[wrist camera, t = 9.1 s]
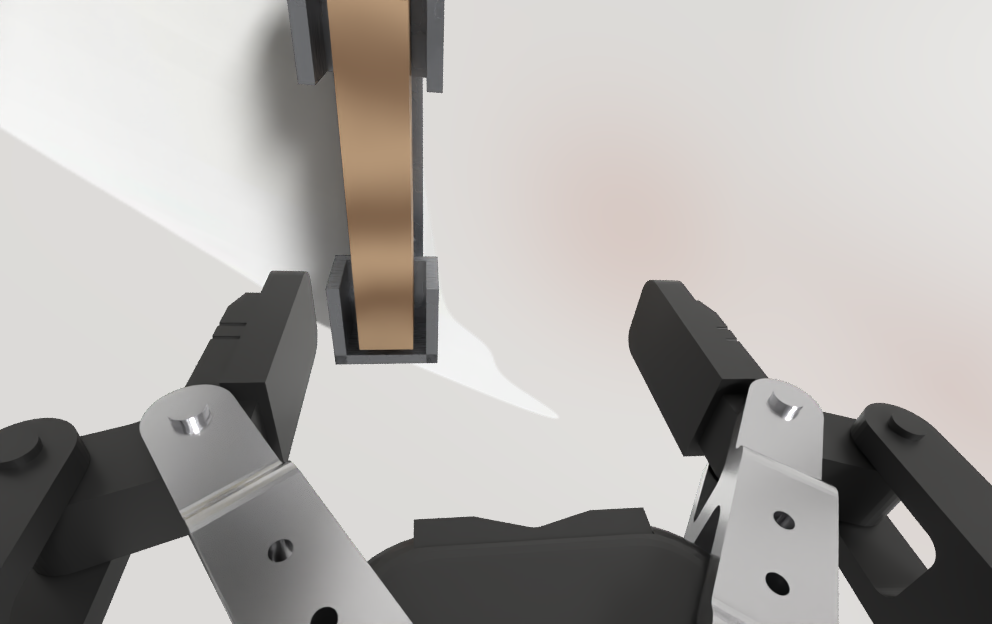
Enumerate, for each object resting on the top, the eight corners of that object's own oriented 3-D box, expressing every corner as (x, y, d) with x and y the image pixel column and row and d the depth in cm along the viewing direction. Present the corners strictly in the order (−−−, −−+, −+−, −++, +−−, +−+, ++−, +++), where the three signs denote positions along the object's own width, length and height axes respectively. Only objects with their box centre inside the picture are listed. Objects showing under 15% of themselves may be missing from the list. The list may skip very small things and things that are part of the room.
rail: (341, -12, 26) (326, -7, 22) (410, -6, 26) (407, 1, 22) (366, 307, 37) (359, 349, 33) (414, 307, 38) (413, 349, 34)
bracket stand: (314, -73, 28) (276, -83, 21) (440, -59, 29) (445, -65, 22) (351, 296, 42) (336, 366, 35) (435, 296, 43) (437, 364, 36)
